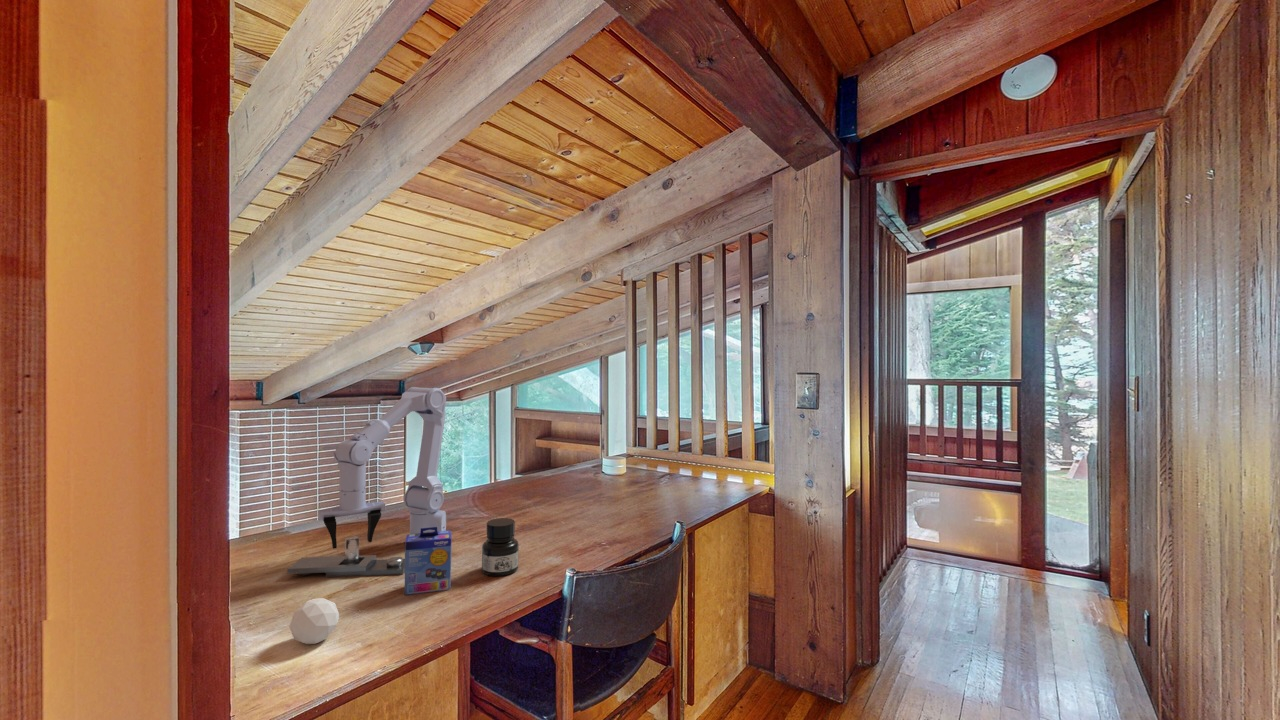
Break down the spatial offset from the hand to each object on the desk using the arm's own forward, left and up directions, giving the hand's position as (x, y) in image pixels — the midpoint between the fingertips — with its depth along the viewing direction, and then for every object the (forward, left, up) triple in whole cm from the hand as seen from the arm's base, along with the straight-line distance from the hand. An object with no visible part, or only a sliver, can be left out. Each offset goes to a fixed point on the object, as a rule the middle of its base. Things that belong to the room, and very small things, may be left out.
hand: (352, 544), depth 131 cm
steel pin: (0, 0, -7) cm, 7 cm away
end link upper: (+4, 0, -7) cm, 8 cm away
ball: (-6, +33, -7) cm, 34 cm away
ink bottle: (-36, +3, -7) cm, 37 cm away
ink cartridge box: (-21, +12, -7) cm, 25 cm away
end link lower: (-4, 0, -7) cm, 8 cm away
